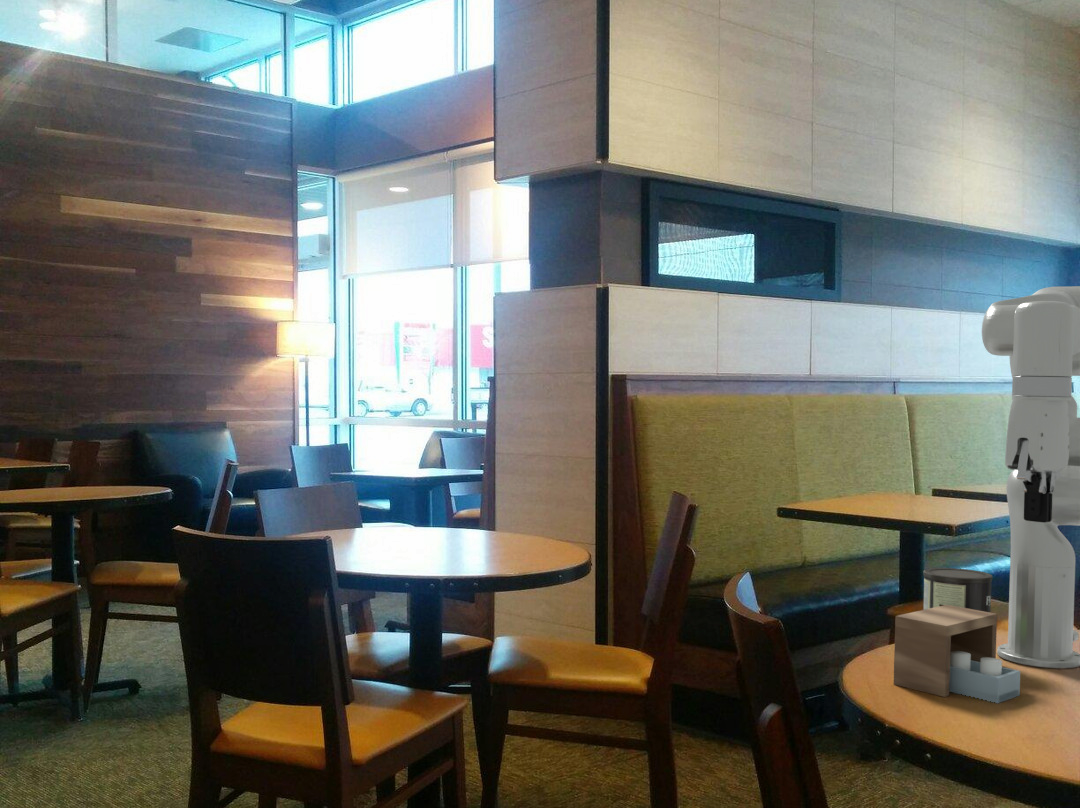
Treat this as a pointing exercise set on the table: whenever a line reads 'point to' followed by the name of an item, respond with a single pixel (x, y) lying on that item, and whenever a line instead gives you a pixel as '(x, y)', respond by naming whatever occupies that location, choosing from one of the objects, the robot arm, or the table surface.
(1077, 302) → the robot arm
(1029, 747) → the table surface
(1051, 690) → the table surface
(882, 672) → the table surface
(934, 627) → the wooden footstool
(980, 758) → the table surface
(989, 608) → the coffee can
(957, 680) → the tray
